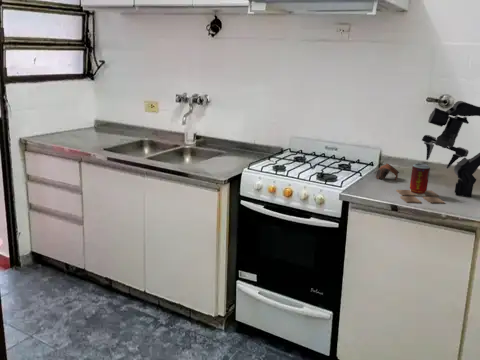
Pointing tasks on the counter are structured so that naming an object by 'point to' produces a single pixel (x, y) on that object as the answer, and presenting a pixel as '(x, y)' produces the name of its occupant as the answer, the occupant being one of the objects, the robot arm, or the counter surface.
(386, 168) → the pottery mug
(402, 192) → the brown wooden board
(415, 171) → the soda can
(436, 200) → the lane broken
